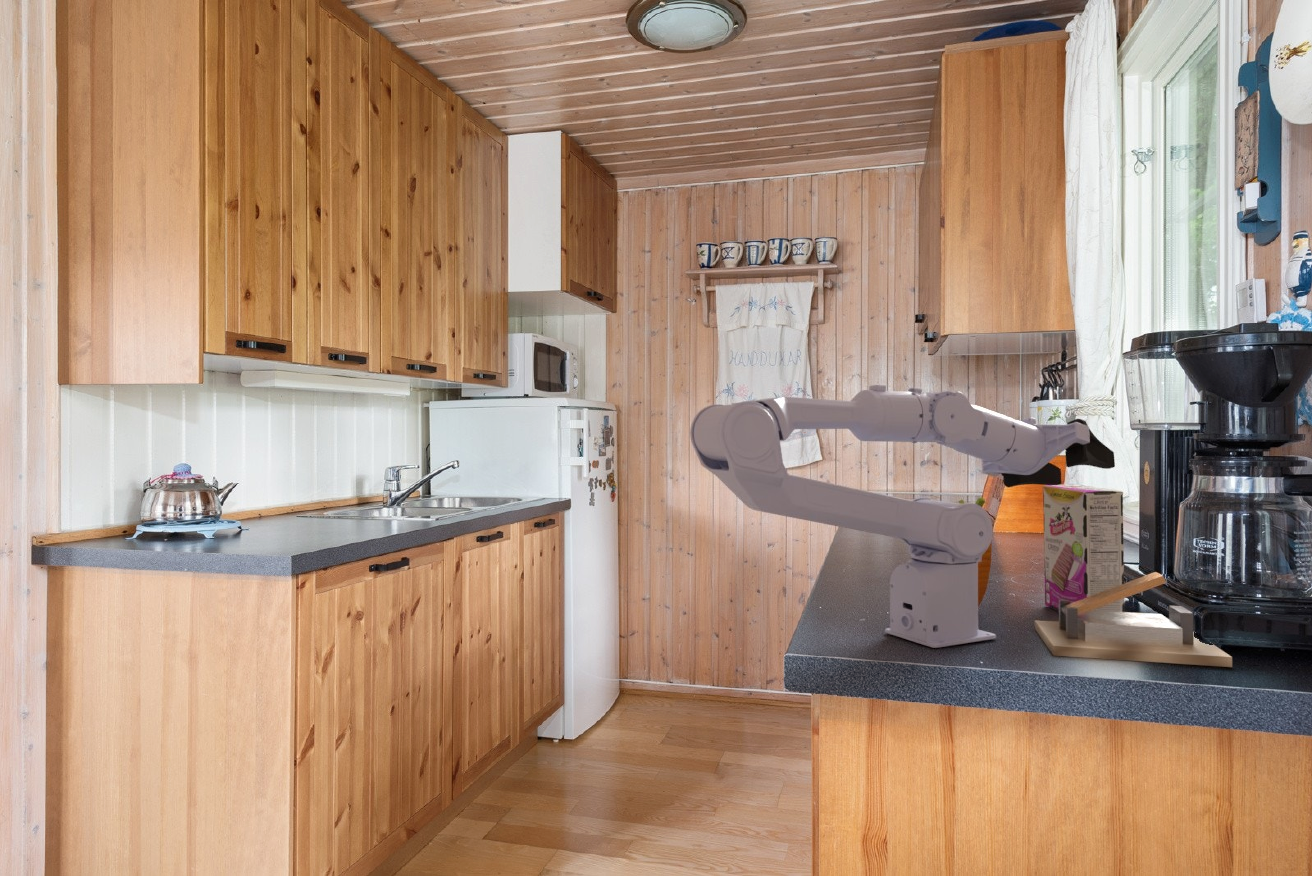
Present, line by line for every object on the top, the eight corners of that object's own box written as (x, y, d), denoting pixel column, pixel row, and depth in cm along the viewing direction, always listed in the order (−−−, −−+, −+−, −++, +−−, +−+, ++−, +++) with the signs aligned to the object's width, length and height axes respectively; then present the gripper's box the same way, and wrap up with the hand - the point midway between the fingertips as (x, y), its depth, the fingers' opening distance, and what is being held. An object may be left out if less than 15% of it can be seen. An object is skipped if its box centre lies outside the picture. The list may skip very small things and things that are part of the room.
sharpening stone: (1069, 641, 85) (1069, 610, 85) (1057, 626, 92) (1056, 597, 92) (1199, 649, 81) (1199, 616, 81) (1176, 632, 88) (1176, 603, 88)
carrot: (947, 607, 107) (946, 495, 107) (985, 607, 107) (984, 495, 106) (960, 615, 102) (959, 498, 102) (1000, 615, 102) (999, 498, 102)
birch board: (1053, 655, 83) (1053, 645, 83) (1034, 628, 94) (1034, 620, 94) (1232, 667, 78) (1232, 657, 78) (1189, 637, 90) (1189, 628, 90)
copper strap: (1068, 619, 87) (1064, 611, 87) (1063, 614, 89) (1059, 607, 89) (1166, 583, 84) (1162, 575, 84) (1159, 578, 86) (1155, 571, 87)
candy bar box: (1041, 606, 107) (1040, 484, 107) (1079, 606, 107) (1078, 484, 107) (1084, 626, 96) (1083, 490, 96) (1126, 626, 96) (1125, 489, 96)
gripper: (1044, 386, 89) (1134, 420, 93) (954, 427, 102) (1036, 456, 106) (1047, 443, 86) (1139, 476, 90) (954, 479, 99) (1038, 506, 103)
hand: (1084, 468), depth 98 cm, fingers open, 7 cm apart
